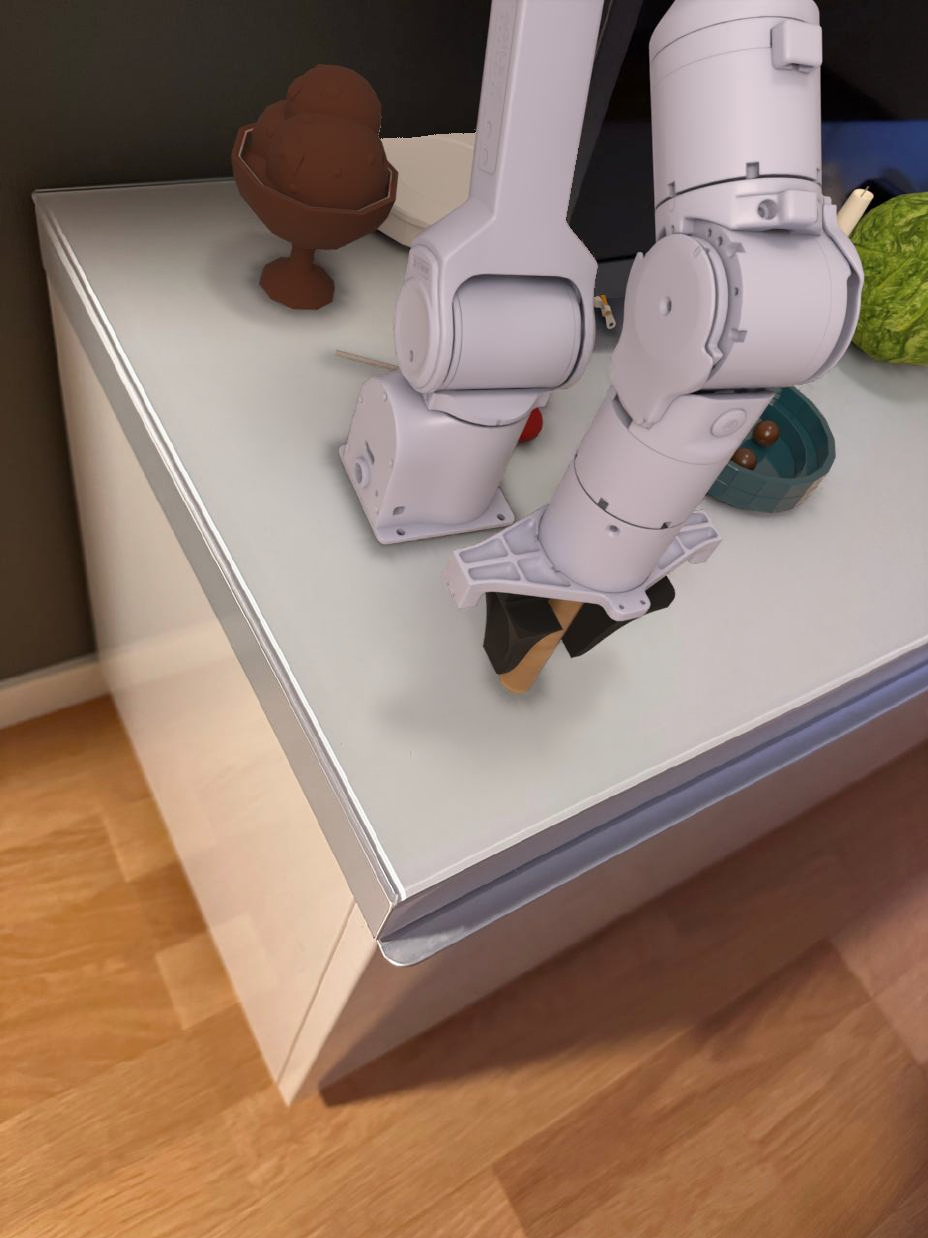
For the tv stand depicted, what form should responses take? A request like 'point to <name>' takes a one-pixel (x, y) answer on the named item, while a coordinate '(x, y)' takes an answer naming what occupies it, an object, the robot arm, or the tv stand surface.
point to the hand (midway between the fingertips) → (532, 650)
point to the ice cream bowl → (315, 177)
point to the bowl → (781, 458)
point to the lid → (427, 180)
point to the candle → (853, 210)
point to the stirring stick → (541, 649)
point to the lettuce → (894, 280)
